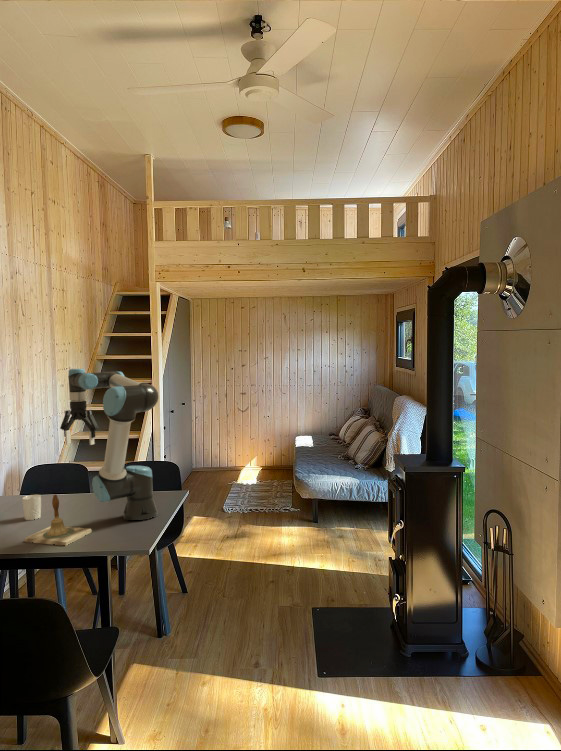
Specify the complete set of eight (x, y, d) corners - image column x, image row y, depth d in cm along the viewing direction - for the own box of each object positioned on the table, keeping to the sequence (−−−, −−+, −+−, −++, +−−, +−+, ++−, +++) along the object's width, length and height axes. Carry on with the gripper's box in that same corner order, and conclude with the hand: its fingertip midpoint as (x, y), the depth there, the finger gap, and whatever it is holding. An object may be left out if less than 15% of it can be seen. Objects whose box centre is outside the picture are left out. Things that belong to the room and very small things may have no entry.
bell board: (91, 532, 230) (91, 528, 229) (66, 545, 214) (66, 541, 214) (52, 528, 235) (52, 525, 235) (24, 541, 220) (24, 537, 220)
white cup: (34, 521, 247) (33, 499, 247) (19, 520, 249) (18, 499, 248) (45, 515, 255) (44, 494, 254) (30, 515, 256) (29, 494, 256)
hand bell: (47, 537, 219) (45, 498, 218) (46, 531, 227) (44, 494, 226) (69, 534, 223) (67, 495, 222) (67, 528, 230) (65, 491, 229)
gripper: (104, 399, 262) (106, 443, 263) (61, 399, 269) (63, 442, 270) (95, 401, 255) (97, 446, 256) (51, 401, 262) (53, 444, 263)
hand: (80, 444), depth 263 cm, fingers open, 13 cm apart
